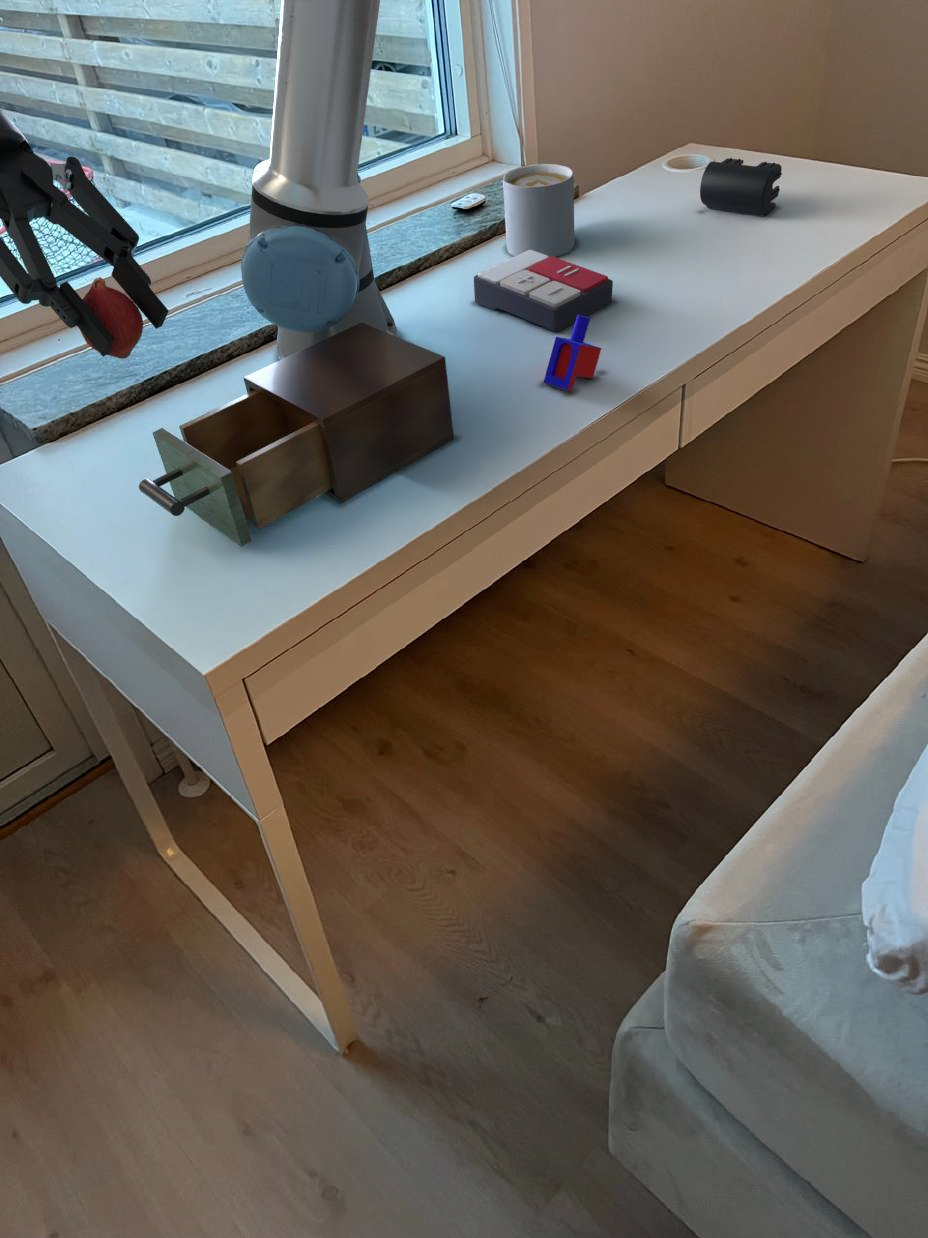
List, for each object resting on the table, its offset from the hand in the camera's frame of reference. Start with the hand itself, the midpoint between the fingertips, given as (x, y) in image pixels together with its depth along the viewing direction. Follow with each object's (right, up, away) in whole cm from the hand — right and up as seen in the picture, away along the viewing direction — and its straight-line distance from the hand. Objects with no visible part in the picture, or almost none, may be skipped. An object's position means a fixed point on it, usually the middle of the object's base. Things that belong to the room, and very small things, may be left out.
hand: (135, 333), depth 91 cm
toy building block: (+44, +1, +20) cm, 48 cm away
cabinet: (+20, -9, +13) cm, 25 cm away
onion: (-3, -1, +4) cm, 5 cm away
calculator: (+41, +15, +36) cm, 57 cm away
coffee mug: (+43, +29, +52) cm, 74 cm away
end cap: (+73, +34, +54) cm, 97 cm away
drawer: (+10, -15, +6) cm, 19 cm away
